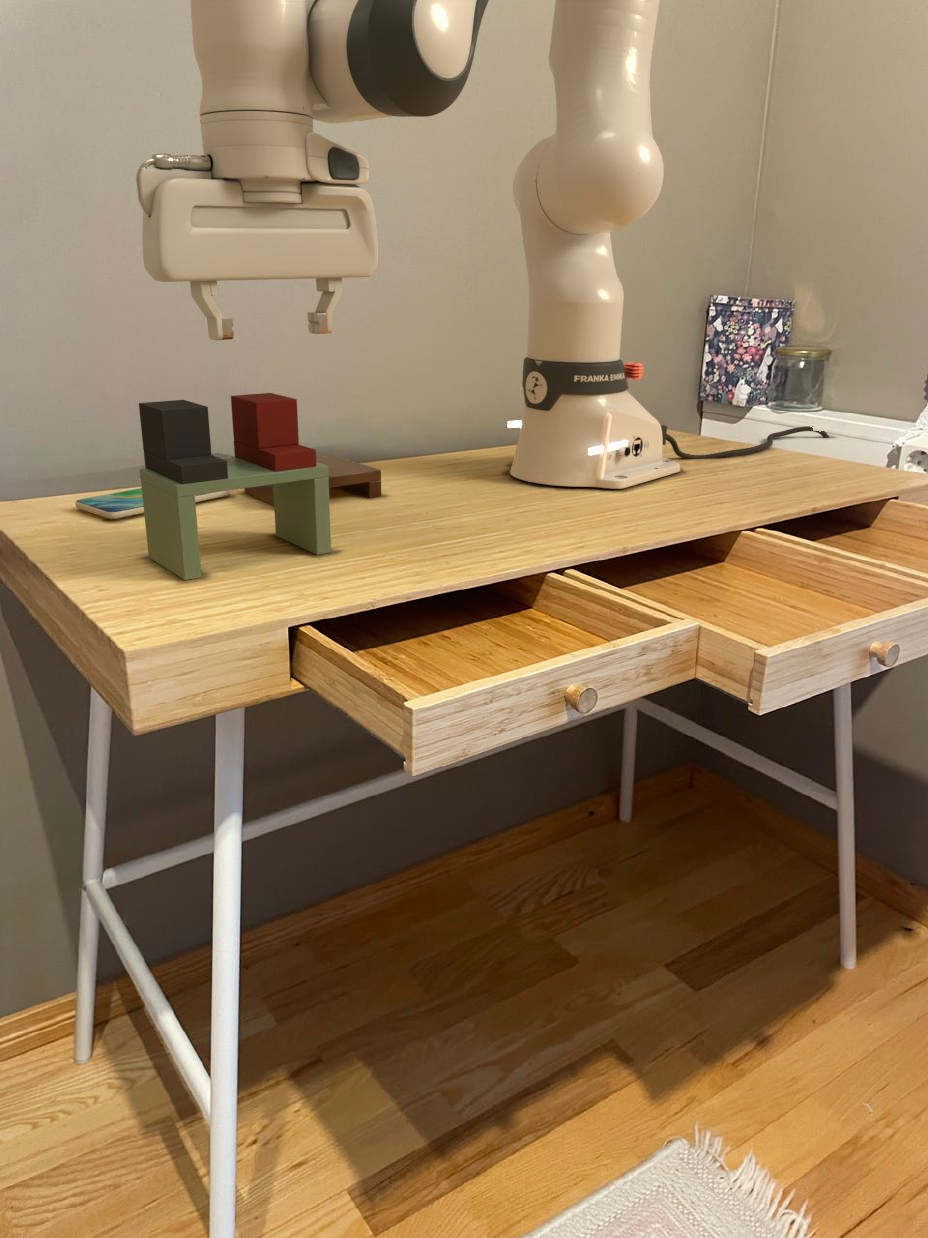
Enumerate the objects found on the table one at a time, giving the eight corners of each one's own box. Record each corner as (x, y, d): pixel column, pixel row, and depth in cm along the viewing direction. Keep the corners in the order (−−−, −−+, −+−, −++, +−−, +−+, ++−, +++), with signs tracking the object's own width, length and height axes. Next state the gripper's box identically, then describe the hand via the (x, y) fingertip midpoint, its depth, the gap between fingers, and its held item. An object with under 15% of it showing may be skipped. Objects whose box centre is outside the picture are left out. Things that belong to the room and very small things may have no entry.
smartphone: (231, 488, 108) (110, 513, 97) (232, 496, 108) (111, 521, 97) (192, 477, 112) (71, 500, 101) (192, 485, 112) (72, 508, 101)
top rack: (289, 533, 94) (285, 451, 91) (331, 552, 88) (328, 465, 85) (148, 557, 86) (139, 468, 83) (184, 580, 80) (176, 485, 77)
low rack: (335, 480, 117) (335, 455, 116) (381, 496, 109) (381, 469, 108) (244, 493, 110) (242, 466, 109) (286, 510, 102) (285, 482, 101)
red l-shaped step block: (274, 452, 91) (270, 392, 89) (316, 466, 85) (314, 403, 83) (234, 456, 88) (230, 395, 87) (275, 471, 83) (272, 406, 81)
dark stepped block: (189, 462, 86) (183, 399, 84) (228, 478, 80) (223, 411, 78) (144, 467, 83) (138, 402, 82) (182, 484, 78) (175, 415, 76)
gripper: (149, 147, 70) (170, 346, 75) (385, 161, 82) (390, 332, 87) (118, 154, 74) (140, 340, 79) (346, 166, 86) (353, 328, 91)
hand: (272, 336), depth 83 cm, fingers open, 8 cm apart
